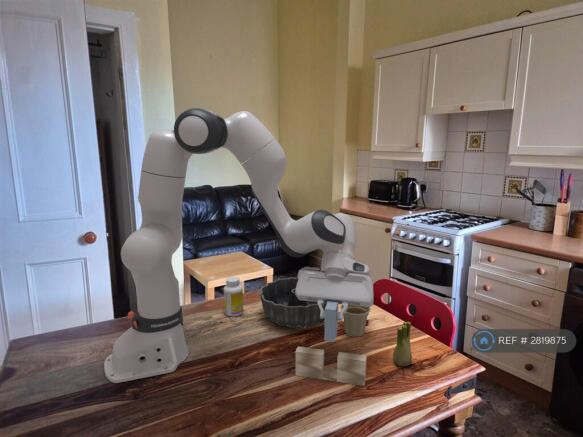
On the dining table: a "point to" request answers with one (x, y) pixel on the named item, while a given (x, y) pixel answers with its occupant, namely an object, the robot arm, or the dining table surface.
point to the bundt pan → (288, 305)
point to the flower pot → (355, 320)
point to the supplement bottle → (233, 297)
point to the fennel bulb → (403, 346)
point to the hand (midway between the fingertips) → (331, 319)
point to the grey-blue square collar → (331, 320)
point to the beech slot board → (347, 371)
